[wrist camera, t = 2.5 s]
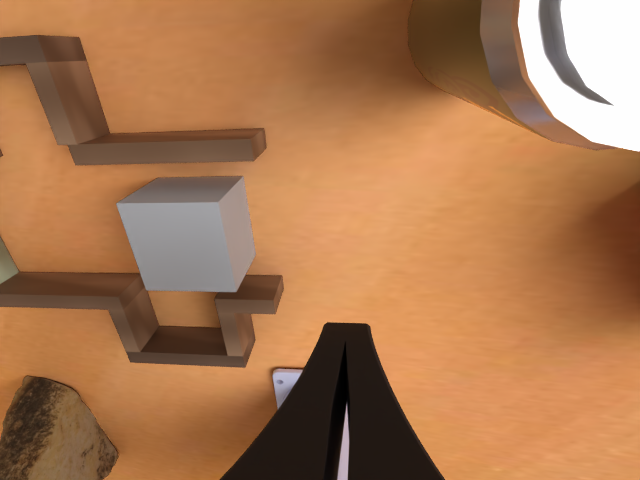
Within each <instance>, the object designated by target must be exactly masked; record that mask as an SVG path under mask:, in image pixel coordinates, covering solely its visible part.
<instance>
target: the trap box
mask: <svg viewBox="0 0 640 480" xmlns="http://www.w3.org/2000/svg"><path fill="white" fill-rule="evenodd" d="M10 65H27V68H28V70H29V73H30V76H31V78H32V81H33V83H34V86H35V88H36V91H37V93H38V96H39V98H40V101H41V103H42V106H43V108H44V111H45V113H46V116H47V118H48V121H49V124H50V126H51V129H52V131H53V134H54V136H55V139H56V141H57V144H58V145H68V147H69V150H70V152H71V155H72V158H73V160H74V163H75V165H111V164H152V163H194V162H236V161H254V160H255V159H256V158H257V157H258V156H259V155H260V154H261V153H262V152H263V151H264V150H265V149H266V139H265V131H264V128H261V129H233V130H204V131H175V132H146V133H117V134H110V132H109V129H108V126H107V123H106V120H105V116H104V113H103V110H102V107H101V104H100V101H99V98H98V95H97V92H96V89H95V85H94V82H93V79H92V76H91V73H90V70H89V67H88V64H87V61H86V58H85V54H84V51H83V48H82V45H81V42H80V39H79V37H63V36H44V35H31V36H17V37H3V38H0V66H10ZM0 156H3V154H2V152H1V150H0ZM283 289H284V287H283V279H282V276H262V275H245V276H244V278H243V280H242V282H241V284H240V286H239V288H238V290H237V292H218V294H217V295H216V297H215V299H214V300H215V304H216V308H217V313H218V317H219V321H220V325H221V328H202V327H172V326H159V324H158V321H157V318H156V315H155V313H154V310H153V307H152V304H151V301H150V298H149V295H148V292H147V290H146V288H145V285H144V282H143V280H142V277H141V274H124V273H56V272H19V271H18V269H17V267H16V265H15V263H14V261H13V259H12V258H11V256H10V254H9V252H8V250H7V248H6V246H5V245H4V243H3V241H2V239H1V237H0V307H30V308H66V309H103V310H109V313H110V315H111V317H112V320H113V322H114V325H115V327H116V329H117V332H118V334H119V336H120V339H121V341H122V344H123V346H124V348H125V351H126V353H127V355H128V358H129V360H130V362H133V363H155V364H177V365H198V366H220V367H242V368H245V367H246V364H247V362H248V359H249V356H250V354H251V351H252V348H253V345H254V343H255V334H254V329H253V323H252V318H251V314H276V311H277V308H278V305H279V302H280V299H281V296H282V292H283Z"/></svg>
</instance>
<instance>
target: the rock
mask: <svg viewBox="0 0 640 480" xmlns="http://www.w3.org/2000/svg"><path fill="white" fill-rule="evenodd" d="M118 457H119V456H118V453H117V451H116V449H115V448H114V447H113V446H112V444H111V443H110V441H109V440H108V438H107V436H106V434H105V433H104V431H103V430H102V429H101V428H100V426H99V425H98V423H97V422H96V418H95V417H94V415H93V414H92V413H91V411H90V409H89V408H88V407H87V406H86V405H85V404H84V403H83V402H82V401H81V398H80V396H79V395H78V394H77V393H76V392H75V391H74V390H73V389H72V388H70V387H67V386H65V385H61V384H59V383H56V382H54V381H52V380H48V379H45V378H39V377H30V376H26V377H25V378H24V379H23V384H22V386H21V387H20V388H19V389H18V390H17V392H16V393H15V396H14V398H13V401H12V404H11V406H10V407H9V409H8V410H7V413H6V416H5V419H4V421H3V432H2V434H1V439H0V480H103V479H104V478H105V477H106V476H108V475H109V473H110V472H111V470H112V467H113V466H114V465H115V464H116V461H117V459H118Z"/></svg>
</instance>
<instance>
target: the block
mask: <svg viewBox="0 0 640 480" xmlns="http://www.w3.org/2000/svg"><path fill="white" fill-rule="evenodd" d="M116 205H117V208H118V211H119V213H120V216H121V219H122V222H123V225H124V228H125V231H126V234H127V236H128V239H129V242H130V245H131V248H132V251H133V254H134V257H135V259H136V262H137V265H138V268H139V271H140V274H141V277H142V280H143V282H144V285H145V288H146V290H153V291H204V292H237V290H238V288H239V286H240V284H241V282H242V280H243V278H244V276H245V275H246V273H247V271H248V269H249V267H250V265H251V263H252V261H253V259H254V257H255V255H256V252H255V245H254V239H253V233H252V227H251V220H250V214H249V208H248V202H247V195H246V189H245V183H244V177H243V176H215V177H165V178H156V179H155V180H153V181H152V182H150V183H148V184H147V185H145V186H143V187H142V188H140V189H139V190H137V191H135V192H134V193H132V194H131V195H129V196H127V197H126V198H124V199H122V200H121V201H119V202H118V203H116Z"/></svg>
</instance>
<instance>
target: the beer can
mask: <svg viewBox="0 0 640 480" xmlns="http://www.w3.org/2000/svg"><path fill="white" fill-rule="evenodd" d="M408 46H409V49H410V52H411V55H412V58H413V61H414V64H415V66H416V67H417V68H418V70H419V71H420V72H421V74H422V75H423V76H424V78H425V79H426V80H427V81H429V82H430V83H432V84H433V85H435V86H437V87H438V88H440V89H441V90H443V91H445V92H448V93H450V94H452V95H454V96H456V97H458V98H460V99H463V100H465V101H467V102H469V103H471V104H473V105H475V106H478V107H480V108H482V109H484V110H486V111H488V112H491V113H493V114H495V115H497V116H499V117H501V118H503V119H506V120H508V121H510V122H512V123H514V124H516V125H519V126H521V127H523V128H525V129H527V130H529V131H531V132H534V133H536V134H538V135H540V136H542V137H544V138H547V139H549V140H551V141H554V142H559V143H564V144H568V145H573V146H578V147H583V148H587V149H592V150H605V149H615V148H625V149H630V150H635V151H640V0H413V3H412V7H411V11H410V15H409V19H408Z"/></svg>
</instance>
